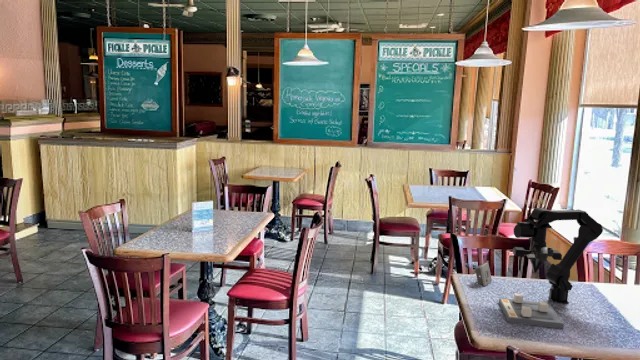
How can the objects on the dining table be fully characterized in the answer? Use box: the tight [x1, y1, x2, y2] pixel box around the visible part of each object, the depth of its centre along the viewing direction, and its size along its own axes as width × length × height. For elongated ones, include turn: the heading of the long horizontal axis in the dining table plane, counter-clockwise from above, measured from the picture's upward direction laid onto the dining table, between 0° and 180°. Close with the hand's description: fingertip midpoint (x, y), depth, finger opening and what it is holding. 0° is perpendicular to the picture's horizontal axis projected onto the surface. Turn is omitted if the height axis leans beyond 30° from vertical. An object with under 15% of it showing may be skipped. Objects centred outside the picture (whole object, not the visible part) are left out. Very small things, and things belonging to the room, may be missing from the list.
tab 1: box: [521, 306, 532, 317], centre depth 183 cm, size 3×3×3 cm
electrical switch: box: [474, 262, 493, 287], centre depth 225 cm, size 9×5×9 cm, turn 141°
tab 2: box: [537, 301, 549, 312], centre depth 188 cm, size 3×3×3 cm
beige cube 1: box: [513, 292, 524, 303], centre depth 196 cm, size 3×3×3 cm
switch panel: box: [498, 297, 565, 329], centre depth 189 cm, size 20×20×2 cm
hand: (534, 272), depth 202 cm, fingers closed
